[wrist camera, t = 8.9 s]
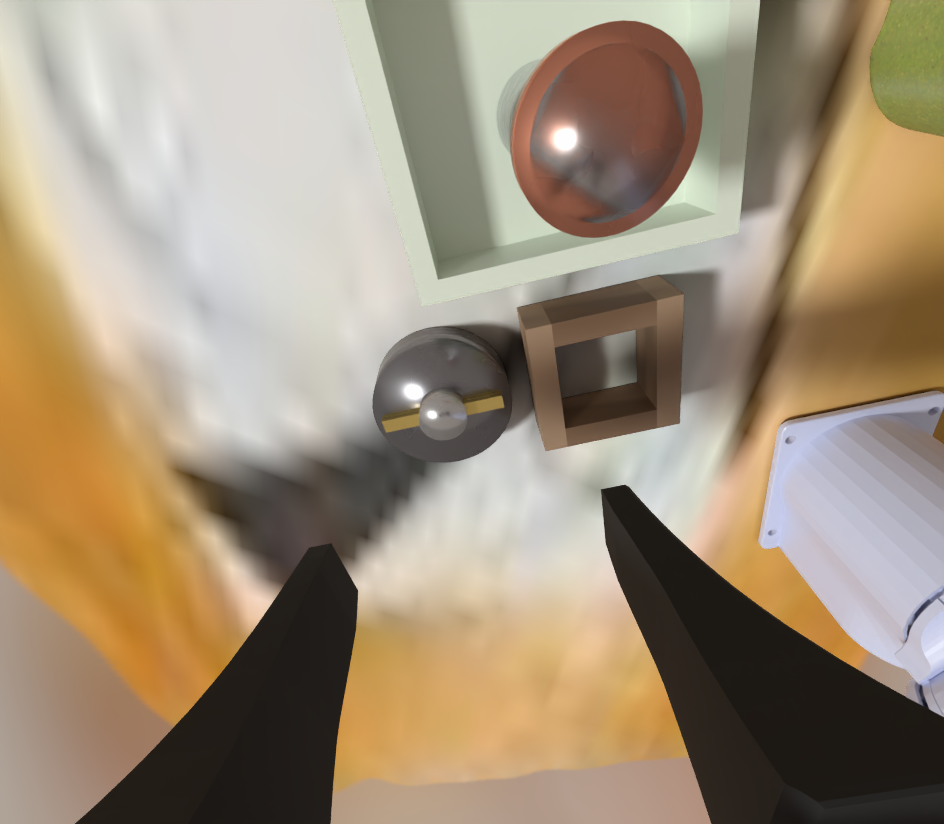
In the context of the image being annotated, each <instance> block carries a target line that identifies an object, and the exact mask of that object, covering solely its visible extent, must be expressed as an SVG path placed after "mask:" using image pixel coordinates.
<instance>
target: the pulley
mask: <svg viewBox="0 0 944 824" xmlns="http://www.w3.org/2000/svg"><path fill="white" fill-rule="evenodd" d="M511 410H512V397H511V391H510V387H509V383H508V379H507V375H506V372H505V368H504V365H503V363H502V361H501V359H500V357H499V356H498V354H497V353H496V351H495V350H494V349H493V348H492V347H491V346H490V345H489V344H488V343H487V342H486V341H484V340H483V339H481V338H480V337H478V336H476V335H474V334H472V333H470V332H467V331H465V330H462V329H457V328H451V327H433V328H427V329H423V330H420V331H416V332H414V333H412V334H410V335H408V336H406V337H404V338H403V339H401V340H400V341H399V342H397V343H396V344H395V345H394V346H393V347H392V348H391V349H390V350H389V352H388V353H387V355H386V356H385V357H384V359H383V361H382V363H381V366H380V369H379V372H378V377H377V381H376V385H375V389H374V394H373V413H374V417H375V420H376V423H377V425H378V427H379V429H380V431H381V432H382V434H383V435H384V437H385V438H386V439H387V440H388V441H389V442H390V443H391V444H392V445H393V446H395V447H396V448H397V449H399V450H400V451H402V452H404V453H405V454H407V455H409V456H412V457H414V458H417V459H421V460H424V461H430V462H454V461H460V460H464V459H467V458H470V457H473V456H475V455H477V454H479V453H481V452H483V451H484V450H486V449H487V448H489V447H490V446H491V445H492V444H493V443H494V442H495V441H496V440H497V439H498V438H499V437H500V436H501V434H502V433H503V431H504V430H505V428H506V426H507V424H508V422H509V419H510V415H511Z"/></svg>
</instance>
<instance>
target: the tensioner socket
mask: <svg viewBox="0 0 944 824" xmlns="http://www.w3.org/2000/svg"><path fill="white" fill-rule="evenodd" d="M683 309H684V294H683V293H682V292H680V291H679V290H678V289H676V288H675V287H674V286H672V285H671V284H670V283H668V282H667V281H666V280H664V279H663V278H662V277H660V276H659V275H657V276H653V277H649V278H644V279H640V280H635V281H631V282H627V283H622V284H618V285H614V286H609V287H605V288H601V289H596V290H592V291H588V292H583V293H579V294H575V295H570V296H566V297H561V298H557V299H553V300H548V301H544V302H540V303H535V304H531V305H527V306H522V307H518V308H517V312H518V317H519V323H520V329H521V335H522V341H523V346H524V352H525V358H526V364H527V369H528V375H529V381H530V387H531V393H532V398H533V404H534V410H535V416H536V421H537V425H538V428H539V431H540V434H541V438H542V441H543V444H544V447H545V450H546V451H549V450H554V449H558V448H563V447H568V446H573V445H578V444H583V443H587V442H592V441H597V440H602V439H607V438H612V437H616V436H621V435H626V434H631V433H636V432H641V431H645V430H650V429H655V428H660V427H665V426H670V425H674V424H679V423H680V401H681V370H682V340H683ZM631 330H636V351H637V383H633V384H628V385H623V386H619V387H614V388H609V389H605V390H600V391H595V392H591V393H586V394H581V395H577V396H572V397H567V398H563V399H561V393H560V385H559V378H558V370H557V363H556V355H555V347H559V346H564V345H568V344H573V343H577V342H582V341H586V340H591V339H595V338H600V337H604V336H609V335H613V334H618V333H622V332H627V331H631Z"/></svg>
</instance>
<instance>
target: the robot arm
mask: <svg viewBox="0 0 944 824" xmlns="http://www.w3.org/2000/svg"><path fill="white" fill-rule="evenodd" d="M943 409H944V393H942V392H940V391H930V392H925V393H921V394H916V395H911V396H906V397H901V398H896V399H891V400H886V401H881V402H876V403H872V404H867V405H862V406H857V407H852V408H847V409H842V410H837V411H832V412H827V413H823V414H818V415H813V416H808V417H803V418H798V419H793V420H789V421H786V422H784V423H782V424H781V425H780V427H779V429H778V432H777V438H776V444H775V449H774V455H773V461H772V466H771V472H770V478H769V483H768V489H767V495H766V500H765V506H764V512H763V517H762V523H761V529H760V534H759V540H758V542H759V544H760V545H761V547H762V548H765V549H770V548H775V547H780V549H781V550H782V551H783V553H784V554H785V555H786V556H787V558H788V559H789V560H790V562H791V563H792V564H793V565H794V567H795V568H796V569H797V571H798V572H799V573H800V574H801V576H802V577H803V578H804V580H805V581H806V582H807V583H808V585H809V586H810V587H811V589H812V590H813V591H814V593H815V594H816V595H817V596H818V598H819V599H820V600H821V602H822V603H823V604H824V605H825V607H826V608H827V609H828V611H829V612H830V613H831V614H832V616H833V617H834V618H835V620H836V621H837V622H838V623H839V625H840V626H841V627H842V628H843V629H844V631H845V632H846V633H847V634H848V635H849V636H850V637H851V638H852V639H853V640H854V641H856V642H857V643H858V644H859V645H861V646H862V647H863V648H865V649H866V650H868V651H869V652H871V653H872V654H874V655H875V656H877V657H879V658H881V659H883V660H884V661H886V662H888V663H890V664H893V665H895V666H897V667H900V668H903V669H906V670H907V671H908V672H909V674H910V675H911V676H912V677H913V678H912V679H911V680H910V681H909V683H908V684H907V686H906V693H905V694H906V697H905V696H903V695H901V694H900V693H898V692H896V691H894V690H892V689H891V688H889V687H887V686H885V685H883V684H882V683H880V682H878V681H876V680H875V679H873V678H871V677H869V676H868V675H866V674H864V673H863V672H861V671H859V670H858V669H856V668H854V667H852V666H851V665H849V664H847V663H846V662H844V661H842V660H840V659H839V658H837V657H836V656H834V655H833V654H831V653H829V652H828V651H826V650H825V649H823V648H822V647H820V646H818V645H817V644H815V643H814V642H812V641H811V640H809V639H807V638H806V637H804V636H803V635H801V634H800V633H798V632H797V631H795V630H793V629H792V628H790V627H789V626H787V625H786V624H784V623H783V622H781V621H780V620H779V619H777V618H776V617H774V616H773V615H772V614H770V613H769V612H767V611H766V610H764V609H763V608H762V607H760V606H759V605H758V604H756V603H755V602H754V601H752V600H751V599H749V598H748V597H747V596H745V595H744V594H743V593H741V592H740V591H739V590H738V589H736V588H735V587H734V586H732V585H731V584H730V583H729V582H727V581H726V580H725V579H724V578H723V577H721V576H720V575H719V574H718V573H716V572H715V571H714V570H713V569H712V568H711V567H709V566H708V565H707V564H706V563H705V562H703V561H702V560H701V559H700V558H699V557H698V556H697V555H696V554H694V553H693V552H692V551H691V550H690V549H689V548H688V547H687V546H686V545H685V544H684V543H682V542H681V541H680V540H679V539H678V538H677V537H676V536H675V535H674V534H673V533H672V532H671V531H670V530H669V529H668V528H667V527H666V526H665V525H664V524H663V523H662V522H661V521H660V520H659V519H658V518H657V517H656V516H655V515H654V514H653V513H652V512H651V511H650V510H649V509H648V508H647V507H646V506H645V505H644V503H643V502H642V501H641V500H640V499H639V498H638V497H637V496H636V495H635V493H634V492H633V491H632V490H631V489H630V487H628V486H626V485H621V486H616V487H611V488H606V489H601V494H602V506H603V517H604V528H605V539H606V545H607V548H608V551H609V554H610V558H611V561H612V564H613V567H614V570H615V573H616V576H617V579H618V581H619V584H620V586H621V588H622V590H623V593H624V595H625V597H626V599H627V602H628V604H629V606H630V608H631V611H632V613H633V615H634V617H635V619H636V622H637V624H638V626H639V628H640V630H641V633H642V635H643V637H644V639H645V642H646V644H647V646H648V648H649V650H650V653H651V655H652V657H653V659H654V661H655V664H656V666H657V668H658V671H659V673H660V676H661V678H662V681H663V683H664V686H665V689H666V691H667V694H668V697H669V700H670V703H671V706H672V708H673V711H674V714H675V717H676V720H677V723H678V725H679V728H680V731H681V734H682V737H683V740H684V743H685V746H686V749H687V752H688V755H689V758H690V761H691V763H692V766H693V769H694V772H695V775H696V778H697V781H698V784H699V787H700V790H701V793H702V796H703V799H704V802H705V806H706V808H707V812H708V815H709V818H710V821H711V823H712V824H944V444H943V443H942V442H940V441H939V440H937V439H936V438H934V437H933V433H934V431H935V428H936V426H937V423H938V421H939V418H940V416H941V413H942V411H943ZM789 436H790V437H789ZM788 437H789V438H788ZM357 602H358V590H357V588H356V586H355V584H354V583H353V581H352V579H351V577H350V576H349V574H348V572H347V570H346V569H345V567H344V565H343V563H342V562H341V560H340V558H339V556H338V555H337V553H336V551H335V549H334V548H333V546H332V544H326V545H321V546H316V547H311V548H309V549H308V551H307V552H306V553H305V555H304V556H303V558H302V559H301V561H300V562H299V564H298V565H297V567H296V568H295V570H294V571H293V573H292V574H291V576H290V577H289V579H288V580H287V582H286V583H285V585H284V586H283V588H282V589H281V591H280V592H279V594H278V595H277V597H276V598H275V600H274V601H273V603H272V604H271V606H270V607H269V609H268V610H267V612H266V613H265V614H264V616H263V617H262V619H261V620H260V622H259V623H258V625H257V626H256V627H255V629H254V630H253V631H252V633H251V634H250V635H249V637H248V638H247V640H246V641H245V642H244V644H243V645H242V646H241V648H240V649H239V650H238V652H237V653H236V654H235V656H234V657H233V658H232V660H231V661H230V662H229V664H228V665H227V666H226V667H225V669H224V670H223V671H222V673H221V674H220V675H219V676H218V677H217V679H216V680H215V681H214V682H213V684H212V685H211V686H210V687H209V688H208V689H207V691H206V692H205V693H204V694H203V695H202V697H201V698H200V699H199V700H198V701H197V702H196V704H195V705H194V706H193V707H192V708H191V709H190V710H189V711H188V713H187V714H186V715H185V716H184V717H183V718H182V719H181V720H180V721H179V722H178V723H177V724H176V725H175V727H174V728H173V729H172V730H171V731H170V732H169V733H168V734H167V735H166V736H165V737H164V738H163V739H162V741H161V742H160V743H159V744H158V745H157V746H156V747H155V748H154V749H153V750H152V751H151V752H150V753H149V754H148V755H147V756H146V757H145V758H144V759H143V760H142V761H141V762H140V763H139V764H138V765H137V766H136V767H135V768H134V769H133V770H132V771H131V772H130V773H129V774H128V775H127V776H126V777H125V778H124V779H123V780H122V781H121V782H120V783H119V784H118V785H117V786H116V787H115V788H113V789H112V790H111V791H110V792H109V793H108V794H107V795H106V796H105V797H104V798H103V799H102V800H101V801H100V802H99V803H98V804H97V805H95V806H94V807H93V808H92V809H91V810H90V811H89V812H88V813H87V814H86V815H84V816H83V817H82V818H81V819H80V820H79V821H78V822H76V823H75V824H330V822H331V807H332V792H333V779H334V767H335V756H336V745H337V736H338V729H339V722H340V716H341V710H342V705H343V699H344V694H345V688H346V683H347V677H348V672H349V666H350V661H351V655H352V649H353V644H354V638H355V632H356V620H357Z"/></svg>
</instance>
